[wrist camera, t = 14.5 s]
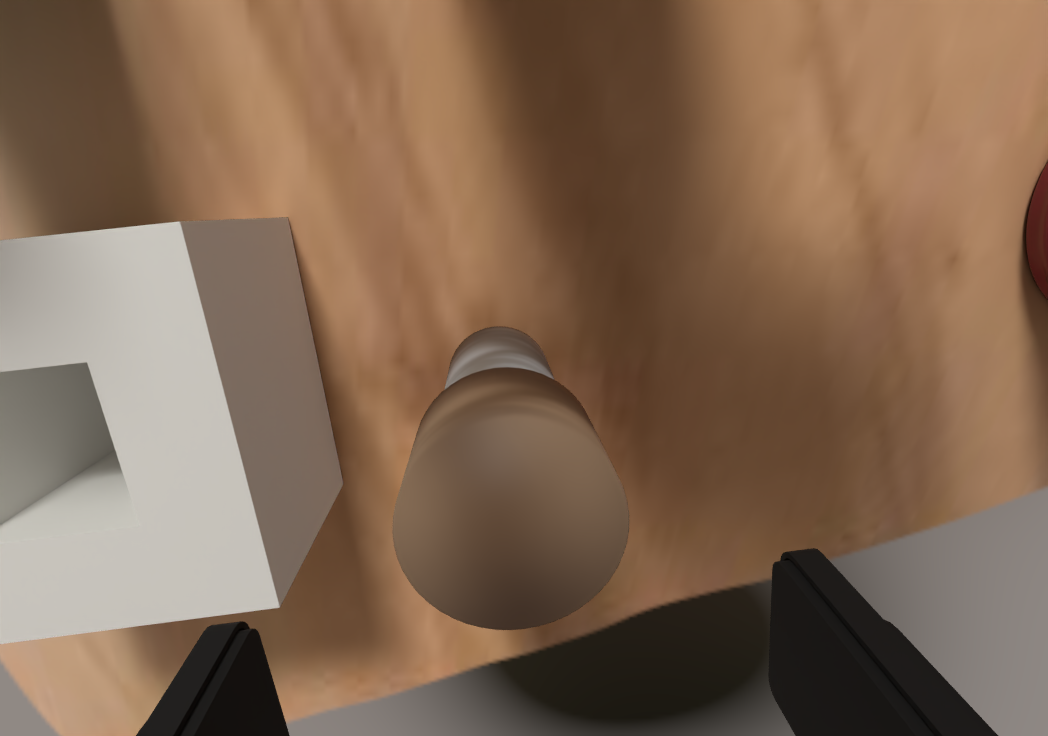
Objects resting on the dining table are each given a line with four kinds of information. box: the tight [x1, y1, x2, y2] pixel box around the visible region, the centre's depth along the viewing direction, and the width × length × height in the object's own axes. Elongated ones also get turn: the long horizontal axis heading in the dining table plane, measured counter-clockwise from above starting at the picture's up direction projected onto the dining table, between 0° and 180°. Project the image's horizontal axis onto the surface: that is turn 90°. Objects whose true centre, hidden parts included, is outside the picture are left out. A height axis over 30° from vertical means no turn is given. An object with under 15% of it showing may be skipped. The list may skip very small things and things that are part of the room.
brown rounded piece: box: [392, 327, 629, 630], centre depth 23 cm, size 6×6×15 cm
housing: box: [0, 217, 343, 644], centre depth 24 cm, size 14×14×10 cm
